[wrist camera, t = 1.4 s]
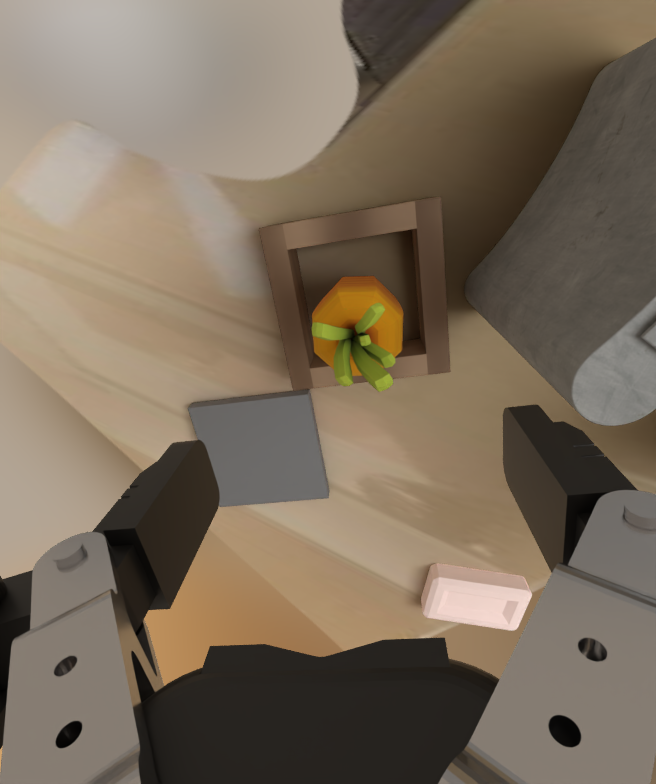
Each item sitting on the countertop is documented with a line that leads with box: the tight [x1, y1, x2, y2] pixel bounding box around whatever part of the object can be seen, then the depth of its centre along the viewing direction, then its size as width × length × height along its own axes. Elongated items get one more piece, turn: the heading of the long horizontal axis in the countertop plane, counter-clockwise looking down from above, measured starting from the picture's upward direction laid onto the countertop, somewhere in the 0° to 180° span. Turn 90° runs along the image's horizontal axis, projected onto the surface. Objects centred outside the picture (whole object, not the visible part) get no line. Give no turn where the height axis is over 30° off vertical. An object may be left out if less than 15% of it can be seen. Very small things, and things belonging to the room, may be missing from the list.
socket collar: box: [259, 197, 450, 391], centre depth 29 cm, size 11×11×4 cm
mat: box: [188, 389, 329, 507], centre depth 37 cm, size 10×10×1 cm
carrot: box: [312, 276, 403, 392], centre depth 24 cm, size 5×5×15 cm
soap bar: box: [421, 563, 532, 631], centre depth 41 cm, size 5×9×2 cm, turn 83°
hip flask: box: [464, 38, 656, 426], centre depth 19 cm, size 16×4×20 cm, turn 153°
